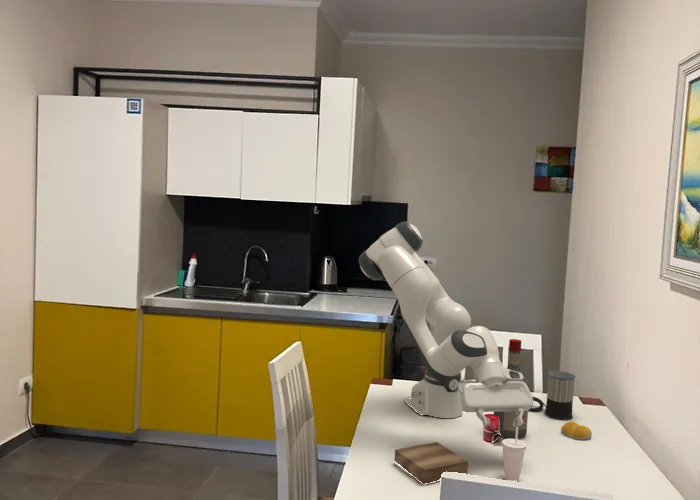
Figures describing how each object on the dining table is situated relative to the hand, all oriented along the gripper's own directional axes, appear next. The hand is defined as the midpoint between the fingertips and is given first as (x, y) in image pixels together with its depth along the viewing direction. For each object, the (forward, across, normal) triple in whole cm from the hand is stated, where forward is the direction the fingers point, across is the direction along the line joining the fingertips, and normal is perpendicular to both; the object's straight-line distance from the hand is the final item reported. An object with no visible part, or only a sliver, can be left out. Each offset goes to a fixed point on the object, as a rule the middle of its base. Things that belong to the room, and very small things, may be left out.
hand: (503, 425), depth 168 cm
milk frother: (-21, +38, +39) cm, 58 cm away
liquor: (-9, +15, +27) cm, 32 cm away
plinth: (+7, -19, +11) cm, 23 cm away
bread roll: (-7, +36, +25) cm, 45 cm away
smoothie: (+12, +1, +6) cm, 14 cm away
